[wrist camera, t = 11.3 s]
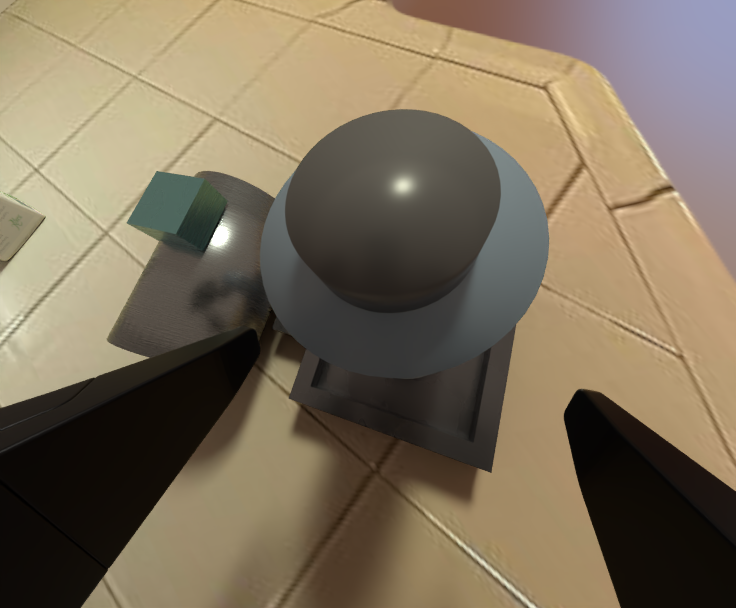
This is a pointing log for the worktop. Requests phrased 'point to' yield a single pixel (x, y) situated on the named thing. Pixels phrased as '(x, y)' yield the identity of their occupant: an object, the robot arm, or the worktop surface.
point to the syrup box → (15, 224)
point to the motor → (251, 309)
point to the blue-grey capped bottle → (403, 245)
